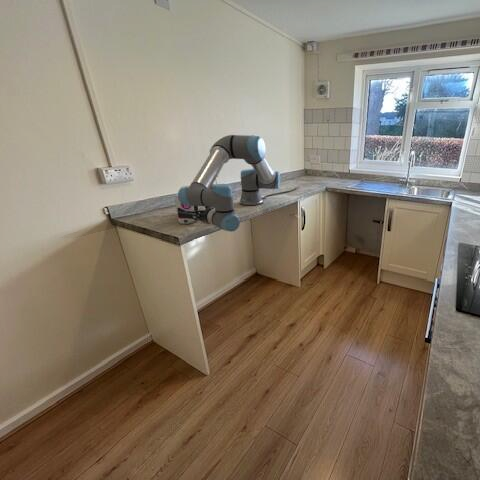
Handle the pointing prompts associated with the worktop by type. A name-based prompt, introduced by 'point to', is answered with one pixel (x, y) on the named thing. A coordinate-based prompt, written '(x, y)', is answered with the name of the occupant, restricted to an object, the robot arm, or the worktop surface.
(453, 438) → the worktop surface
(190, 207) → the supplement can
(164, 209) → the worktop surface
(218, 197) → the robot arm
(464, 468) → the worktop surface
